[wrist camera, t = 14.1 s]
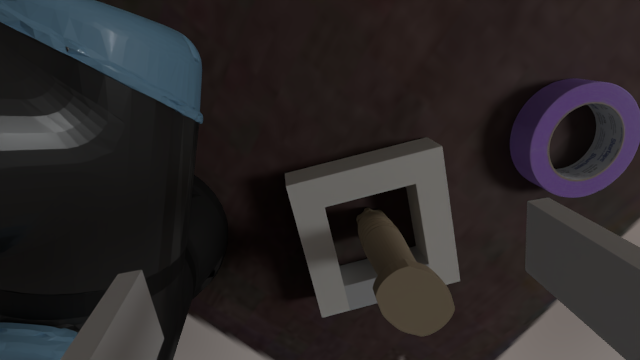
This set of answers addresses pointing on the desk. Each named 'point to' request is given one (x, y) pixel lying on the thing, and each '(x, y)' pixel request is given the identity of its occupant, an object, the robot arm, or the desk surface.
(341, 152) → the desk surface
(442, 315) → the handle
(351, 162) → the socket
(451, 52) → the desk surface
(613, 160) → the masking tape
